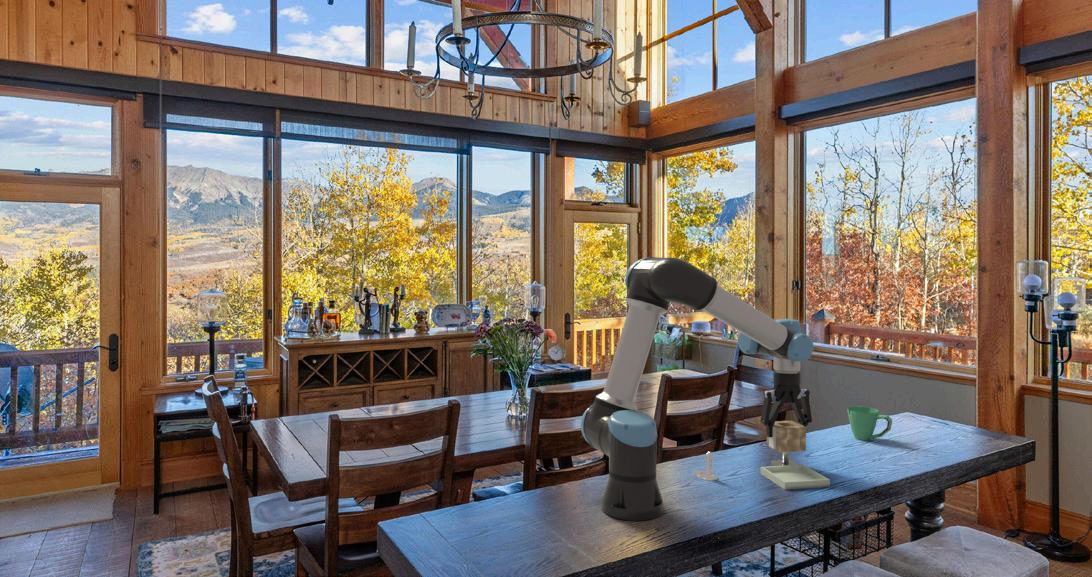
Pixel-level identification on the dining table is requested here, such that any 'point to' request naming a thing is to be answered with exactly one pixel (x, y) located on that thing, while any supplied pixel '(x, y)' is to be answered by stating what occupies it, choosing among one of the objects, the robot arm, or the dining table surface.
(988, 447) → the dining table surface
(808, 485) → the tray
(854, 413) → the mug
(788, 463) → the gauge post
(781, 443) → the bored block
